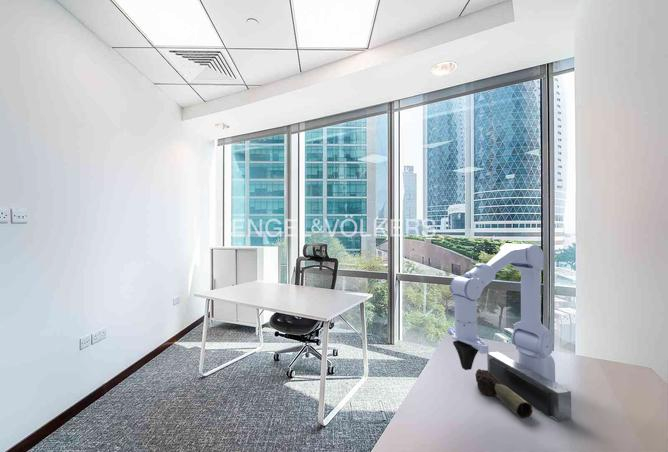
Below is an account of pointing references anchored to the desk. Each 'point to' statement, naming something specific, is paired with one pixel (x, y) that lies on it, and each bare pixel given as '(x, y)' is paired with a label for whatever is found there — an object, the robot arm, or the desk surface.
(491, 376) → the corroded crusty cylinder
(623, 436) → the desk surface
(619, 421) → the desk surface
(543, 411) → the grey metal tray
